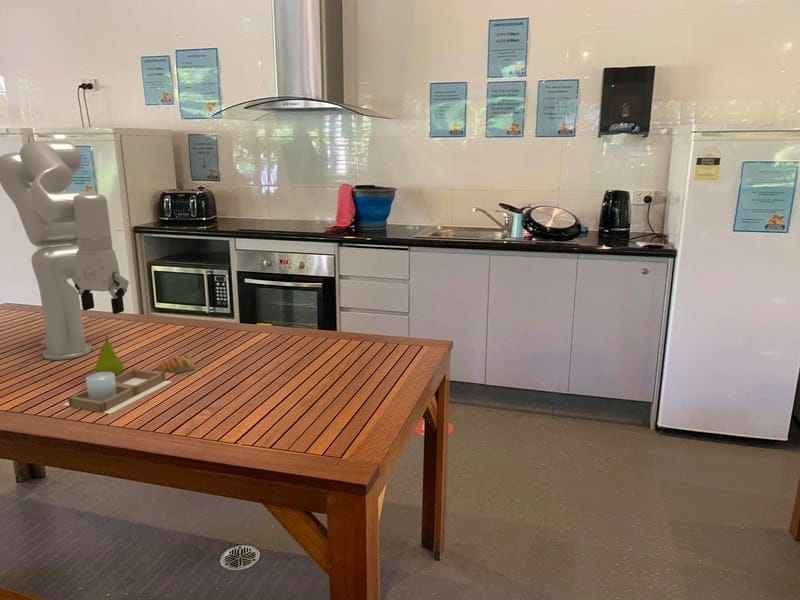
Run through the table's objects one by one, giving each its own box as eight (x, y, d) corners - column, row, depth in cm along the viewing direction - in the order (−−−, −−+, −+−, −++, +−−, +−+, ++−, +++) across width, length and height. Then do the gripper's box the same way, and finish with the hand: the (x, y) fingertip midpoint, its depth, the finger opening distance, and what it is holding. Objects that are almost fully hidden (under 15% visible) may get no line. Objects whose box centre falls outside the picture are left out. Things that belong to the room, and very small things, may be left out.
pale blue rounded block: (83, 403, 137) (79, 379, 136) (103, 394, 143) (100, 370, 141) (103, 407, 135) (100, 382, 134) (123, 397, 141) (120, 373, 139)
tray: (63, 409, 137) (61, 396, 136) (128, 379, 155) (127, 367, 154) (110, 418, 132) (109, 405, 132) (172, 386, 151) (171, 374, 150)
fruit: (106, 384, 152) (100, 339, 149) (92, 379, 155) (86, 335, 152) (129, 376, 157) (123, 333, 154) (114, 372, 160) (109, 329, 157)
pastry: (161, 378, 156) (160, 365, 155) (152, 371, 161) (151, 358, 160) (196, 370, 162) (195, 357, 161) (187, 364, 167) (185, 351, 166)
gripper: (55, 244, 147) (65, 311, 151) (111, 248, 141) (119, 317, 145) (80, 240, 154) (89, 304, 158) (134, 244, 148) (141, 310, 152)
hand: (103, 310), depth 152 cm, fingers open, 9 cm apart
